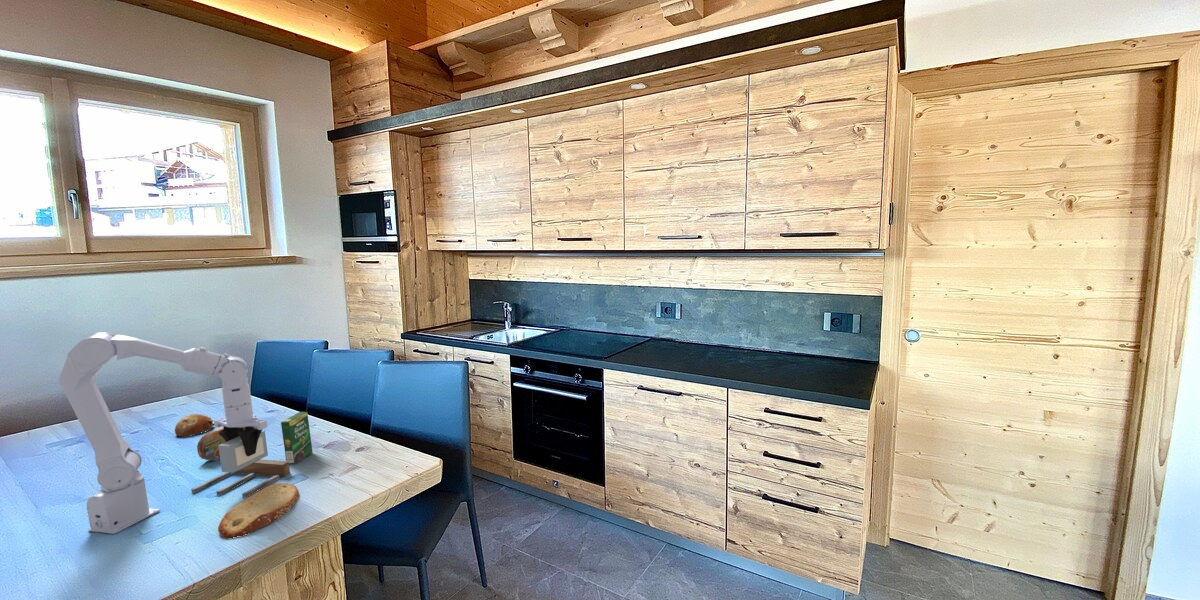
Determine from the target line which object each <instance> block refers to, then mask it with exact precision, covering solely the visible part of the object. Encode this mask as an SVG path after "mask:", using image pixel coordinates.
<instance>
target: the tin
mask: <svg viewBox="0 0 1200 600" xmlns="http://www.w3.org/2000/svg"><path fill="white" fill-rule="evenodd" d="M223 429H224V427H218V429H214V430H212V431H209V432H207V433H205V434H204V435H203V436H202V437H200V439H199V441H198V442H197V445H196V446H197V447H196V451H197V454H198V456H199V457H200V458H201V459H202V460H205V461H218V460H220V459H219V458H220V454H219V447H218V445H220V444H223V443H225V442H226V441H225V440H224V438H223V437H222V436H221V435H219V431H221V430H223ZM243 430H245V428H244V429H243ZM217 459H218V460H217Z"/></svg>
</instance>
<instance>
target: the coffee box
mask: <svg viewBox="0 0 1200 600" xmlns="http://www.w3.org/2000/svg"><path fill="white" fill-rule="evenodd" d="M309 421H310V420H309V415H308V412H307V411H299V412H297V413H295V414H294V415H292V416H289V417H288V418H286V419H284V420H282V421H281V422H280V426H281V433H282V434H281V435H282V440H283V448H284V454H285V461H289V465H296V464H298V463H299V462H301V460H303V459H305V458H306V457H308V456H310V455H311V454H312V453H313V445H312V436H311V430H310V423H309Z"/></svg>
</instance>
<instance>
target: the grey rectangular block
mask: <svg viewBox="0 0 1200 600" xmlns="http://www.w3.org/2000/svg"><path fill="white" fill-rule="evenodd" d="M218 447H219V454H220V459H219V462H220V467H221V469H220V470H221V473H225V472H230V473H231V474H235V473H234V472H236V471H238V470H240V469H242V468H244V467H246V466H248V465H250V464H252V463H254V462H256V461H258V460H260V459H262V460H263V459H264V458H266V457H268V456H269V453H268V452H269V451H268V446H267V438H266V431H265V430H264V429H263V430H262V432H261V434H260V436H259V439H258V442H257V448H256V453H255V454H253V455H251V456H247V455H246V453H245V449H244V445H243V442H242V440H241V438H240V436H239V437H237V438H234V439H232V440H230V441H227V442H225V443H223V444H220V445H218Z"/></svg>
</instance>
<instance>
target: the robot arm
mask: <svg viewBox="0 0 1200 600" xmlns="http://www.w3.org/2000/svg"><path fill="white" fill-rule="evenodd" d="M115 356H116V360H117V361H119V360H123V359H127V358H132V357H133V358H134V357H139V358H145V359H151V360H158V361H161V362H168V363H172V364H177V365H179V366H180V368H181V369H182V371H184V372H189V373H192V374H193V373H194V374H198V375H203V376H207V377H213V378H216V377H219V379H220V381H221V384H222V387H221V394H222V400H223V409H224V415H225V416H224V417H220V418H216V419H214V420H213V424H214V428H221V427H224V429H223V430H221V431H219V435H221V436H222V437H223V438H224V440H225V441H226V442H227V441H230V440H232V439H234V438H237V437H239V436H240V438H241V440H242V442H243V445H244V449H245V453H246V455H247V456H251V455H253V454H255V453H256V448H257V442H258V439H259V436H260V434H261V432H262V430H264V429H266V428H268V422H267V420H266V419H262V418H259V417H257V414H254V413H253V412H254V411H253V404H252V402H253V401H252V396H251V395H252V394H251V386H250V384H249V377H248V373H249V368H248V364H247V362H246V360H244V359H243V358H242V357H239V356H238V355H230V354H229V353H225V352H224V354H220V353H217V352H213V351H208V350H207V347H205V346H204V347H203V346H200V348H196V347H194V348H193V347H192V348H190V349H187V350H183V349H178V348H176V347H171V346H167V345H164V344H160V343H157V342H152V341H148V340H145V339H141V338H137V337H134V336H133V337H132V336H129V335H123V334H116V335H115V334H113V333H111V332H110V333H109V332H103V331H99V332H96V333H93V334H90V335H89V336H88V335H87V337H86V338H83V339H82V340H80V341H79V342H77V343H76V344H75V345H74V346H73V347H72V348H71V349H70V350H69V351H68V352H67V354H66V360H65V362H64V365H63V368H62V370H61V373H60V376H59V378H58V379H59V381H58V382H59V385H60V386H61V388H62V390H63V392H64V394H65V396H66V398H67V400H68V402H69V403H70V406H71V408H72V411H74V414H75V416H76V418H77V419H78V422H79V424H80V426H81V427H82V429H83V431H84V434H85V436H86V438H87V440H88V441H89V443H90V445H91V447H92V450H93V451H94V455H95V465H96V467H97V469H98V470H97V471H98V474H97V479H96V480H97V483H98V485H100V490H99V491H97V493H95V494H94V495H92V496H90V497H89V498H88V499H87V501H86V510H87V511H86V512H87V517H88V522H89V528H88V529H87V530H88V531H89V532H94V533H95V532H96V533H105V534H113V535H114V534H117V533H120V532H121V531H123V530H125V529H128V528H129V527H132V526H133V525H134V524H137V523H139V522H141V521H143V520H145V519H147V518H148V517H151V516H152V515H153V516H154V515H155V514H157V513H159V512H160V508H152V507H149V501H148V494H147V487H146V482H145V476H144V474H142V473H141V472H140V471H139V468H140V467H141V465H142V456H141V454H140V453H139V452H138V451H136V450H134V449H133V448H132V447H131V446H130V444H129V442H127V440H125V439H124V438H123V435H122V434H121V432H120V430H119V427H118V425H117V423H116V422H115V420H114V417H113V415H112V413H111V411H110V409H109V407H108V405H107V403H106V401H105V399H104V397H103V395H102V393H101V390H100V388H99V387H98V385H97V383H96V381H95V376H96V375H97V373H98V372H99V371H100V370H101V368H102V367H103V366H104V365H105V364H107V363H108V362H109V361H111V360H112V359H113V357H115ZM244 428H245V430H243V429H244Z"/></svg>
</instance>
